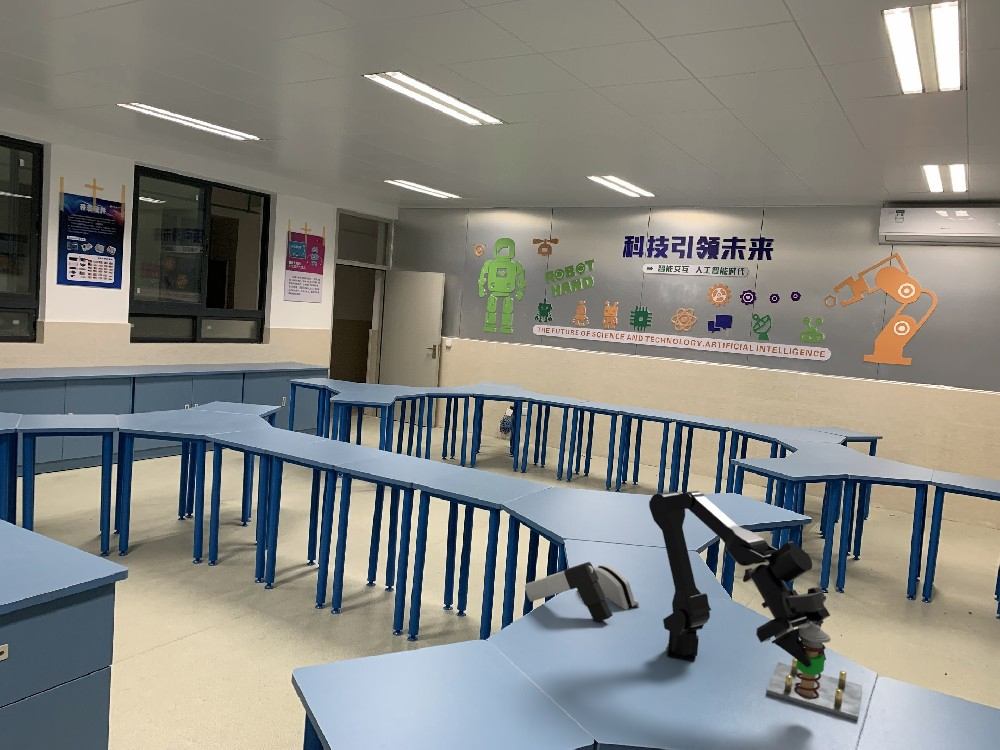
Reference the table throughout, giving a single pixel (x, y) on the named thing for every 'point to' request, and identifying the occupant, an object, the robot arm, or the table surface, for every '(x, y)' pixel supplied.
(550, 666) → the table surface
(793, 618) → the robot arm
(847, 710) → the plate
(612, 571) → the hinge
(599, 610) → the handheld device
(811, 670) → the shock absorber
